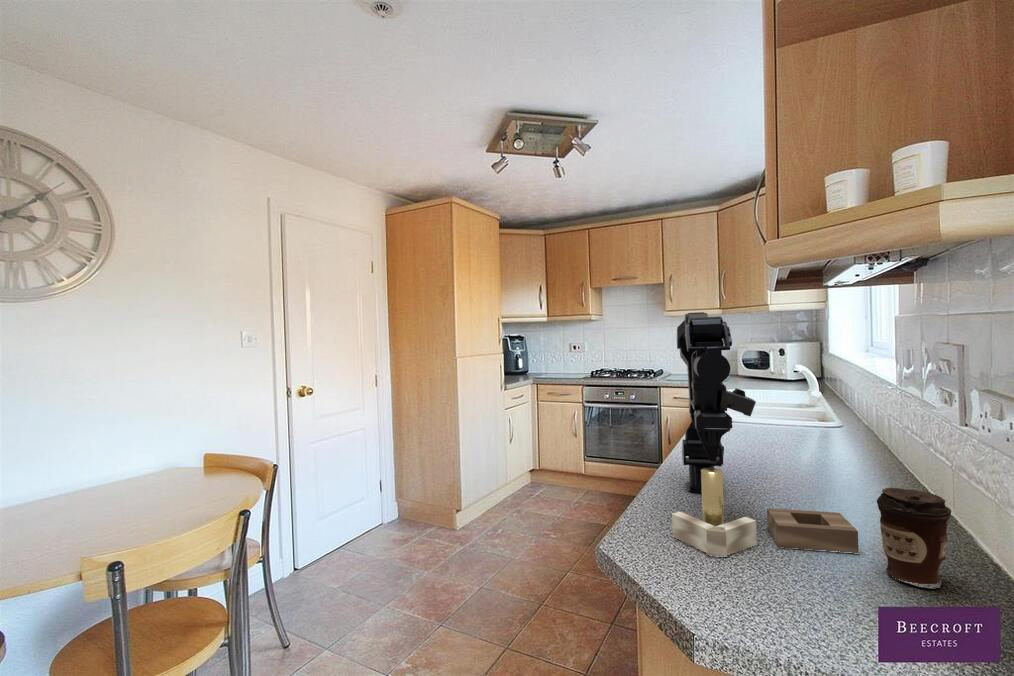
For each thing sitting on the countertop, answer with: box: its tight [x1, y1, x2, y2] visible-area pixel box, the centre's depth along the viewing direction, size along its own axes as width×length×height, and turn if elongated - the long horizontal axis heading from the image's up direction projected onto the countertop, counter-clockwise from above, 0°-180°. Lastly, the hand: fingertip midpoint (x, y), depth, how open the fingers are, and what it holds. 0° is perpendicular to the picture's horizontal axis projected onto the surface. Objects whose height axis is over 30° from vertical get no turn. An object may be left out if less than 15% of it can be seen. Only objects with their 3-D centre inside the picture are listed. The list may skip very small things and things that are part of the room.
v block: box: [671, 511, 758, 558], centre depth 84 cm, size 8×14×4 cm, turn 71°
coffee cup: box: [876, 487, 952, 584], centre depth 71 cm, size 9×8×13 cm
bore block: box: [766, 507, 860, 553], centre depth 85 cm, size 8×12×4 cm, turn 73°
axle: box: [701, 467, 725, 526], centre depth 86 cm, size 4×4×13 cm
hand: (709, 455), depth 96 cm, fingers open, 9 cm apart
